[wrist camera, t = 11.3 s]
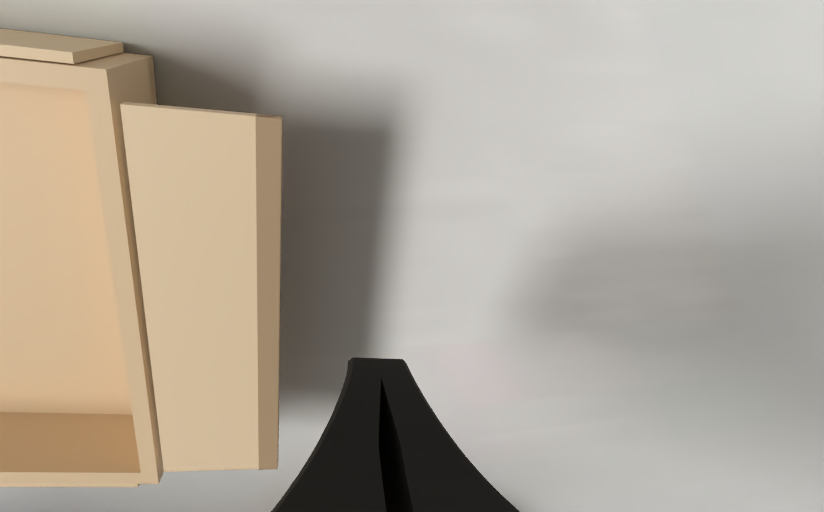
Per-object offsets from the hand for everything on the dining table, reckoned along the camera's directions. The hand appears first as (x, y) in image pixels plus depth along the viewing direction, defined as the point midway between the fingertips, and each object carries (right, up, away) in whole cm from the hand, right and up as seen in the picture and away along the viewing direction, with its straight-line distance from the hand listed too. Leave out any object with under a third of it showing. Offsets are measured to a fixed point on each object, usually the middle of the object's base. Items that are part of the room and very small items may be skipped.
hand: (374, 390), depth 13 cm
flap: (-7, +2, +1) cm, 7 cm away
